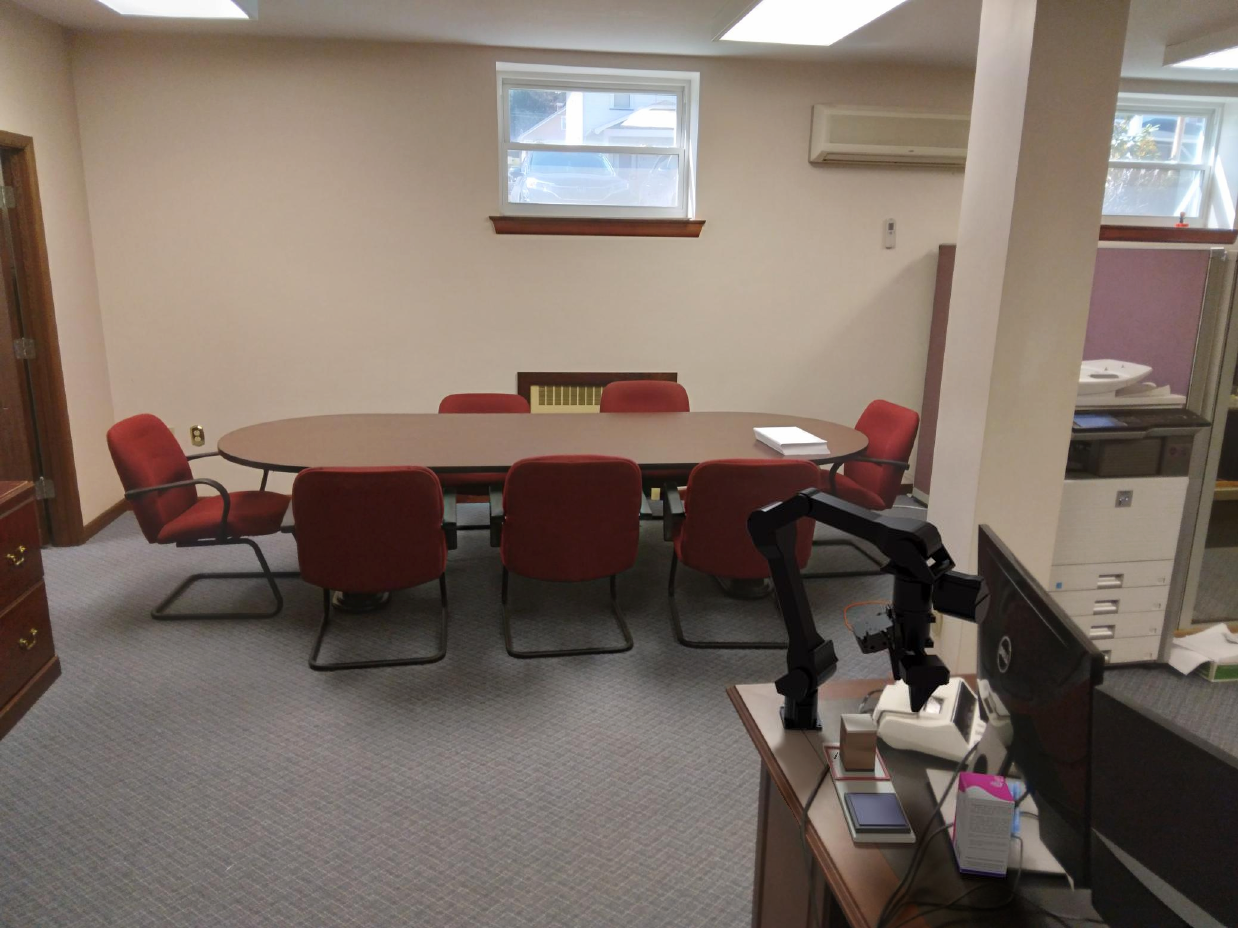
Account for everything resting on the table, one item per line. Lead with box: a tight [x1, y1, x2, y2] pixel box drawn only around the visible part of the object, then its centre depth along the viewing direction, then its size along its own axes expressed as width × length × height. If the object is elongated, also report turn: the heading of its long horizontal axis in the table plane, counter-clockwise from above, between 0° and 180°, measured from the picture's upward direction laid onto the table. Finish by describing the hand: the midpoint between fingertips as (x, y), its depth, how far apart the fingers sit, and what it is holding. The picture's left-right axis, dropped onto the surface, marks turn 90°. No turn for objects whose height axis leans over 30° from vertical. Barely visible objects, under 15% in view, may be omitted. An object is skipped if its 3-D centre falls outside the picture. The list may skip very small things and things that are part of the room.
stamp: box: [839, 713, 878, 772], centre depth 124 cm, size 4×4×7 cm
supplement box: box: [951, 771, 1016, 878], centre depth 104 cm, size 6×6×12 cm
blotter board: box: [821, 742, 917, 844], centre depth 119 cm, size 22×8×2 cm, turn 177°
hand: (905, 695), depth 123 cm, fingers open, 9 cm apart
